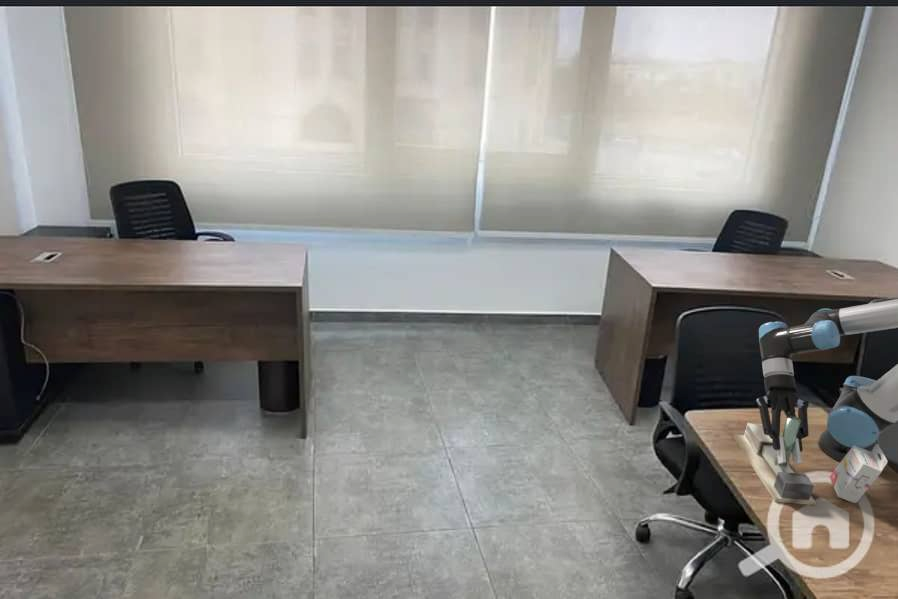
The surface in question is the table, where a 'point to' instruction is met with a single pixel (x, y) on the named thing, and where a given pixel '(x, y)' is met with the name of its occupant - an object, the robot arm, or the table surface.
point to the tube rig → (779, 485)
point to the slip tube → (789, 440)
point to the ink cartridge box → (857, 472)
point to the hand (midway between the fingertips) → (789, 463)
